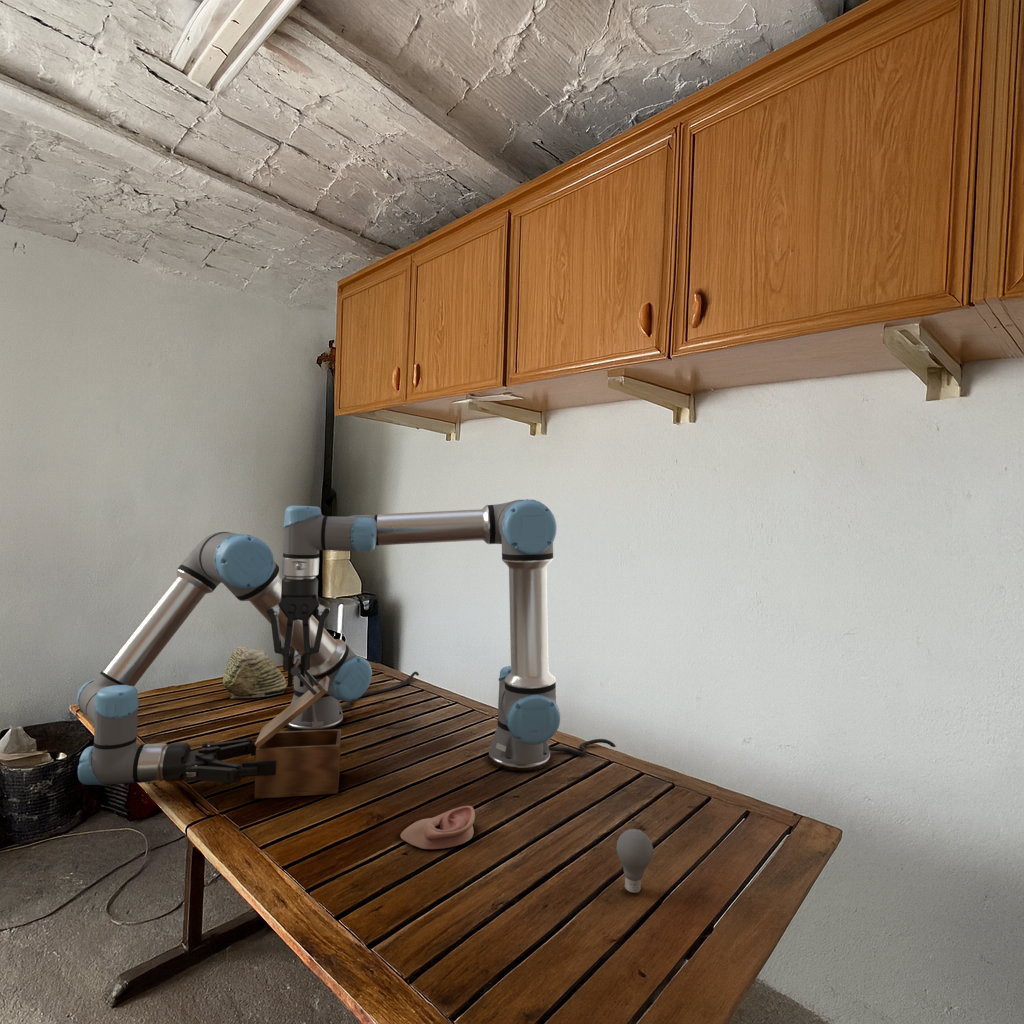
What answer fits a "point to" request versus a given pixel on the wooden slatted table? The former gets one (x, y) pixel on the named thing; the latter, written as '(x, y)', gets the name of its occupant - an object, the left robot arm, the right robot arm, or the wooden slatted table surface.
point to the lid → (294, 704)
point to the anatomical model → (442, 829)
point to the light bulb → (634, 857)
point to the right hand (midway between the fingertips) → (296, 684)
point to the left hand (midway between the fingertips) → (279, 757)
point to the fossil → (252, 674)
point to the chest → (300, 764)
